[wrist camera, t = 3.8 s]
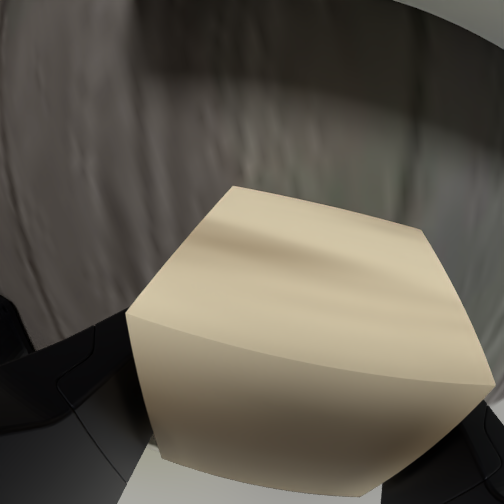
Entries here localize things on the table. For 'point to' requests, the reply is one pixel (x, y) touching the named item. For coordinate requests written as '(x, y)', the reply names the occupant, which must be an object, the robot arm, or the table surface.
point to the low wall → (468, 15)
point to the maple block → (303, 347)
